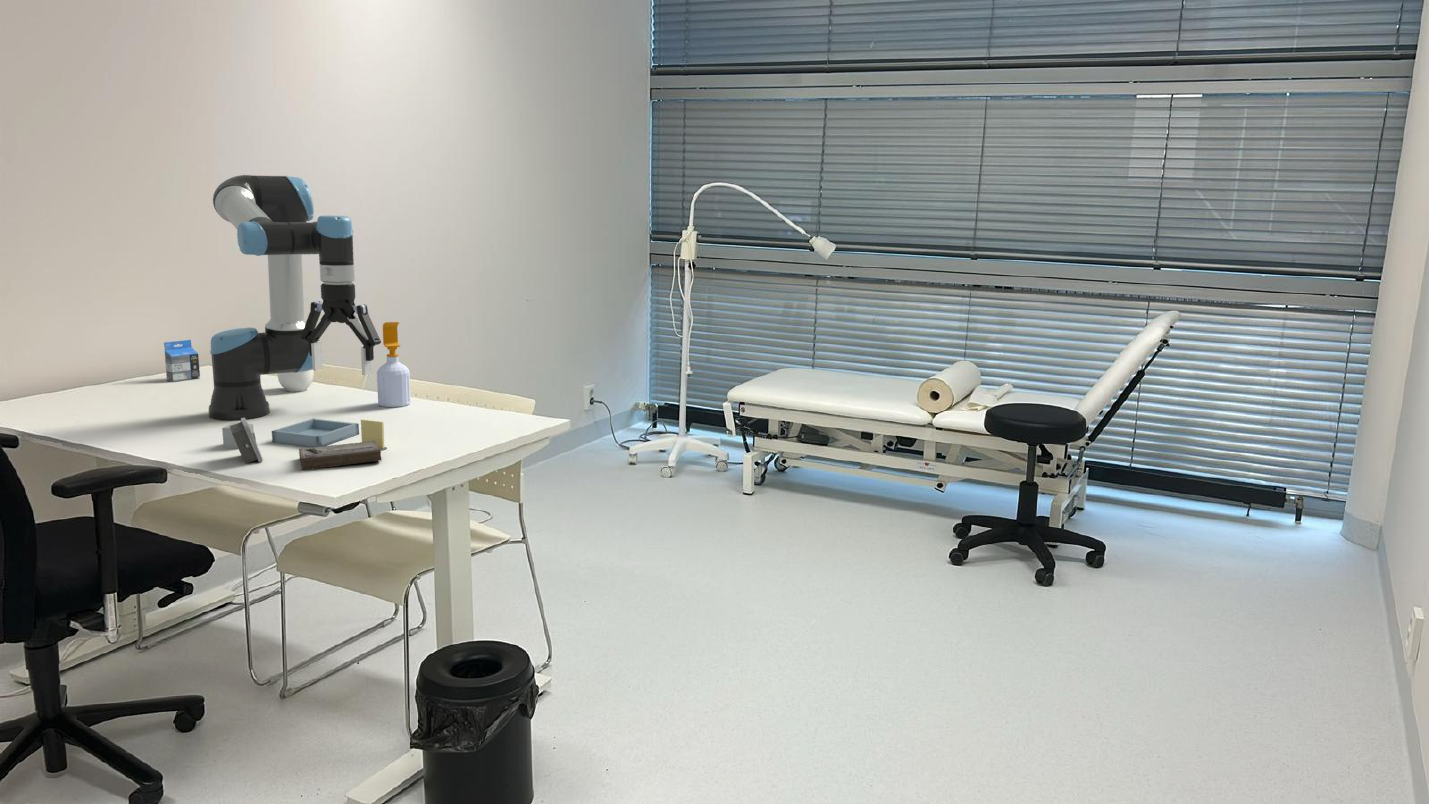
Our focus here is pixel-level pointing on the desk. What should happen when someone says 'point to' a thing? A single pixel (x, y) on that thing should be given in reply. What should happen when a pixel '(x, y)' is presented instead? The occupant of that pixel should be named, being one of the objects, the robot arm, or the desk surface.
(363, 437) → the label card
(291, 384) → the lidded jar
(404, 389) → the soap bottle
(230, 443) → the grey block
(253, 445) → the electrical switch
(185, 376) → the label tape cartridge
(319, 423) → the parts tray
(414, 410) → the desk surface
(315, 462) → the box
